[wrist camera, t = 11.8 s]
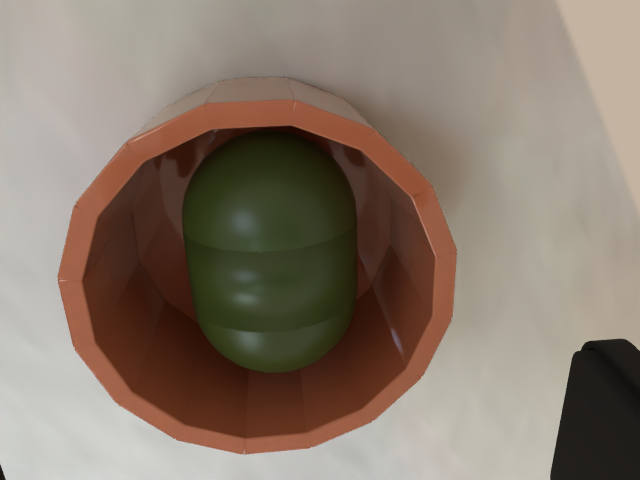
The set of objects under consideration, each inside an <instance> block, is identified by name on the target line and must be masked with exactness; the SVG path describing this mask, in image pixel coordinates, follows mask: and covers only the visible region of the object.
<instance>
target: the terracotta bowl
mask: <svg viewBox="0 0 640 480" xmlns="http://www.w3.org/2000/svg"><path fill="white" fill-rule="evenodd" d="M256 130H280V131H286V132H291V133H295V134H298V135H300V136H302V137H305V138H307V139H309V140H311V141H313V142H315V143H316V144H317V145H319V146H320V147H322V148H323V149H324V150H326V151H327V152H328V153H329V154H330V155H331V156H332V157H333V158H334V159H335V160H336V161H337V163H338V164H339V165H340V166H341V168H342V170H343V171H344V173H345V175H346V177H347V178H348V180H349V182H350V185H351V188H352V191H353V194H354V197H355V201H356V210H357V264H358V290H357V297H356V307H355V311H354V314H353V317H352V320H351V323H350V325H349V327H348V329H347V330H346V332H345V334H344V335H343V337H342V338H341V340H340V341H339V342H338V343H337V345H336V346H335V347H334V348H333V349H332V350H331V351H329V352H328V353H327V354H326V355H325V356H324V357H322V358H321V359H319V360H318V361H316V362H314V363H312V364H310V365H308V366H306V367H303V368H301V369H297V370H294V371H290V372H284V373H265V372H259V371H255V370H250V369H247V368H244V367H241V366H239V365H237V364H236V363H234V362H232V361H231V360H229V359H227V358H226V357H224V356H223V355H222V354H221V353H220V352H218V351H217V350H216V349H215V348H214V346H213V345H212V344H211V343H210V342H209V341H208V339H207V338H206V336H205V335H204V333H203V331H202V329H201V327H200V325H199V323H198V321H197V319H196V315H195V311H194V307H193V304H192V297H191V289H190V282H189V274H188V267H187V259H186V252H185V245H184V237H183V230H182V206H183V200H184V195H185V191H186V189H187V187H188V184H189V182H190V179H191V177H192V175H193V173H194V172H195V170H196V169H197V167H198V166H199V164H200V163H201V162H202V160H203V159H204V158H205V157H206V156H207V155H208V154H209V153H210V152H212V151H213V150H214V149H215V148H216V147H217V146H219V145H220V144H222V143H224V142H226V141H227V140H229V139H231V138H233V137H235V136H238V135H241V134H244V133H248V132H251V131H256ZM456 251H457V249H456V246H455V244H454V241H453V239H452V236H451V233H450V231H449V228H448V226H447V223H446V220H445V218H444V215H443V213H442V210H441V207H440V205H439V202H438V200H437V197H436V194H435V192H434V189H433V186H432V185H431V184H430V182H429V181H428V180H427V179H426V178H425V177H424V176H423V175H422V174H421V173H420V172H419V171H418V170H417V169H416V168H415V167H414V166H413V165H412V164H411V163H410V162H408V161H407V160H406V159H405V158H404V157H403V156H402V155H401V154H400V153H399V152H398V151H397V150H396V149H395V148H394V147H393V146H392V145H391V144H390V143H389V142H388V141H387V140H386V139H385V138H384V137H383V136H382V135H381V134H380V133H379V132H378V131H377V130H376V129H375V128H373V127H372V126H371V125H370V124H369V123H368V122H367V121H366V120H365V119H364V118H363V117H362V116H361V115H360V114H359V113H358V112H357V111H356V110H355V109H354V108H353V107H352V106H351V105H350V104H349V103H348V102H347V101H345V100H343V99H342V98H339V97H337V96H334V95H332V94H329V93H327V92H325V91H323V90H321V89H319V88H316V87H314V86H311V85H308V84H304V83H301V82H298V81H295V80H292V79H289V78H285V77H278V78H276V77H248V78H239V79H231V80H222V81H219V82H217V83H214V84H212V85H210V86H208V87H206V88H203V89H201V90H198V91H196V92H194V93H192V94H191V95H189V96H187V97H185V98H184V99H182V100H180V101H178V102H176V103H174V104H171V105H169V106H167V107H166V108H165V109H163V110H162V111H161V112H160V113H159V114H158V115H156V116H155V117H154V118H153V119H152V120H151V121H150V122H148V123H147V124H146V125H145V126H144V127H143V128H141V129H140V130H139V131H138V132H137V133H136V134H135V135H133V136H132V137H131V138H130V139H129V140H128V141H126V142H125V143H124V144H123V145H122V147H121V148H120V149H119V150H118V151H117V153H116V154H115V155H114V156H113V158H112V159H111V160H110V161H109V162H108V164H107V165H106V166H105V167H104V169H103V170H102V171H101V172H100V174H99V175H98V176H97V177H96V178H95V180H94V181H93V182H92V183H91V185H90V186H89V187H88V188H87V189H86V191H85V192H84V193H83V194H82V196H81V197H80V198H79V199H78V200H77V202H76V205H75V206H74V207H73V211H72V215H71V220H70V224H69V228H68V233H67V237H66V241H65V246H64V250H63V255H62V259H61V263H60V268H59V272H58V284H59V288H60V292H61V297H62V301H63V305H64V309H65V313H66V318H67V322H68V326H69V330H70V334H71V339H72V343H73V347H75V351H76V352H77V353H78V355H79V356H80V357H81V358H82V360H83V361H84V362H85V364H86V365H87V366H88V368H89V369H90V370H91V371H92V373H93V374H94V375H95V377H96V378H97V379H98V381H99V382H100V383H101V385H102V386H103V387H104V388H105V390H106V391H107V392H108V394H109V395H110V396H111V398H112V399H113V400H114V401H115V402H116V403H117V404H118V405H119V406H121V407H123V408H124V409H126V410H128V411H129V412H131V413H133V414H134V415H136V416H138V417H139V418H141V419H142V420H144V421H146V422H147V423H149V424H151V425H152V426H154V427H156V428H157V429H159V430H161V431H162V432H164V433H166V434H167V435H169V436H171V437H172V438H174V439H176V440H178V441H183V442H187V443H192V444H196V445H201V446H206V447H210V448H215V449H219V450H224V451H228V452H233V453H238V454H243V453H244V454H255V453H265V452H276V451H287V450H297V449H308V448H311V447H315V446H317V445H319V444H322V443H324V442H326V441H329V440H331V439H333V438H336V437H338V436H340V435H343V434H345V433H347V432H350V431H352V430H355V429H357V428H359V427H362V426H364V425H366V424H369V423H371V422H372V420H373V421H374V420H375V419H376V418H378V417H379V416H380V415H381V414H382V413H383V412H384V411H385V410H386V409H388V408H389V407H390V406H391V405H392V404H393V403H394V402H395V401H396V400H398V399H399V398H400V397H401V396H402V395H403V394H404V393H405V392H407V391H408V390H409V389H410V388H411V387H412V386H413V385H414V384H415V383H417V382H418V381H419V380H420V379H421V376H423V375H424V373H425V371H426V369H427V367H428V365H429V363H430V361H431V359H432V357H433V355H434V353H435V352H436V350H437V348H438V346H439V344H440V342H441V340H442V338H443V336H444V334H445V332H446V330H447V328H448V326H449V324H450V322H451V318H452V316H453V302H454V287H455V272H456V258H457V253H456Z"/></svg>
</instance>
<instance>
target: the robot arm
mask: <svg viewBox="0 0 640 480" xmlns="http://www.w3.org/2000/svg"><path fill="white" fill-rule="evenodd" d="M550 479H551V480H640V351H639V350H638V349H637V348H636V347H635V346H634V345H633V344H632V343H630V342H629V341H628V340H625V339H611V340H597V341H588V342H586V343H585V344H584V345H583V346H582V349H581V351H577V352H575V353H574V355H573V358H572V362H571V367H570V372H569V378H568V383H567V388H566V394H565V399H564V404H563V410H562V415H561V420H560V426H559V431H558V436H557V442H556V447H555V452H554V458H553V463H552V468H551V475H550ZM0 480H6V479H5V477H4V474H3V471H2V468H1V465H0Z"/></svg>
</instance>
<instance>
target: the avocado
mask: <svg viewBox="0 0 640 480" xmlns="http://www.w3.org/2000/svg"><path fill="white" fill-rule="evenodd" d="M182 230H183V237H184V245H185V252H186V259H187V267H188V274H189V282H190V289H191V297H192V304H193V307H194V311H195V315H196V319H197V321H198V323H199V325H200V327H201V329H202V331H203V333H204V335H205V336H206V338H207V339H208V341H209V342H210V343H211V344H212V345H213V346H214V348H215V349H216V350H217V351H218V352H220V353H221V354H222V355H223V356H224V357H226V358H227V359H229V360H231V361H232V362H234V363H236V364H237V365H239V366H241V367H244V368H247V369H250V370H255V371H259V372H265V373H284V372H290V371H294V370H297V369H301V368H303V367H306V366H308V365H310V364H312V363H314V362H316V361H318V360H319V359H321V358H322V357H324V356H325V355H326V354H327V353H328V352H329V351H331V350H332V349H333V348H334V347H335V346H336V345H337V343H338V342H339V341H340V340H341V338H342V337H343V335H344V334H345V332H346V330H347V329H348V327H349V325H350V323H351V320H352V317H353V314H354V311H355V307H356V297H357V290H358V264H357V210H356V201H355V197H354V194H353V191H352V188H351V185H350V182H349V180H348V178H347V177H346V175H345V173H344V171H343V170H342V168H341V166H340V165H339V164H338V163H337V161H336V160H335V159H334V158H333V157H332V156H331V155H330V154H329V153H328V152H327V151H326V150H324V149H323V148H322V147H320V146H319V145H317V144H316V143H315V142H313V141H311V140H309V139H307V138H305V137H302V136H300V135H298V134H295V133H291V132H286V131H280V130H256V131H251V132H248V133H244V134H241V135H238V136H235V137H233V138H231V139H229V140H227V141H226V142H224V143H222V144H220V145H219V146H217V147H216V148H215V149H214V150H213V151H212V152H210V153H209V154H208V155H207V156H206V157H205V158H204V159H203V160H202V162H201V163H200V164H199V166H198V167H197V169H196V170H195V172H194V173H193V175H192V177H191V179H190V182H189V184H188V187H187V189H186V191H185V195H184V200H183V206H182Z"/></svg>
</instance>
